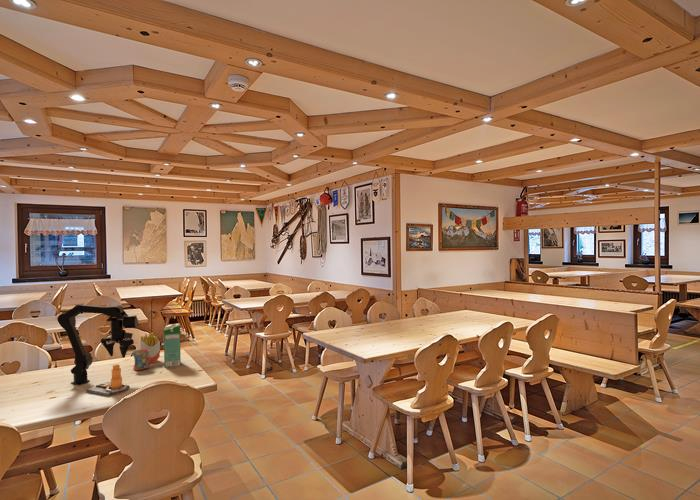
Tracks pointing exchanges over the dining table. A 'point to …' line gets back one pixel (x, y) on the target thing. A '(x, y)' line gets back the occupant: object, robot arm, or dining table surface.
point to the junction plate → (106, 389)
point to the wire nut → (116, 378)
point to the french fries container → (151, 347)
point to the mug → (141, 359)
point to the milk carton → (172, 345)
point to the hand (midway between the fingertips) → (117, 356)
